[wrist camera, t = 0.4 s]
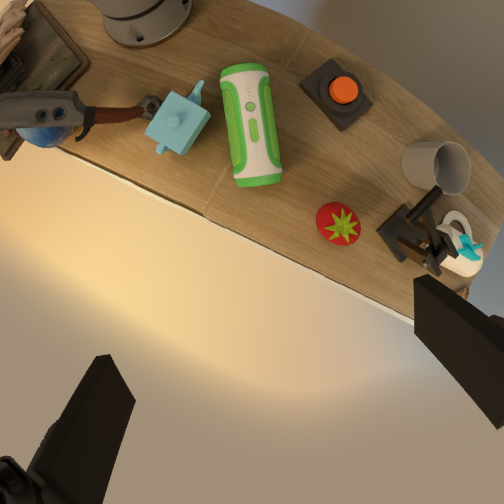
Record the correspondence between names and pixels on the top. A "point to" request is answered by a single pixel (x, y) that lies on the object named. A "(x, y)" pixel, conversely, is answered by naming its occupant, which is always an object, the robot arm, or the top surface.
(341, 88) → the button
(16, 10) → the broken wood plank
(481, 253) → the white handled jug
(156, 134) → the teapot
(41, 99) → the knife
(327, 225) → the strawberry
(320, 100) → the control block
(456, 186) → the cup
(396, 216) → the bracket
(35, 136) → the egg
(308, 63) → the top surface
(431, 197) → the lever
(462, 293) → the oyster shell
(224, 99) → the speaker
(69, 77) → the tank diorama
